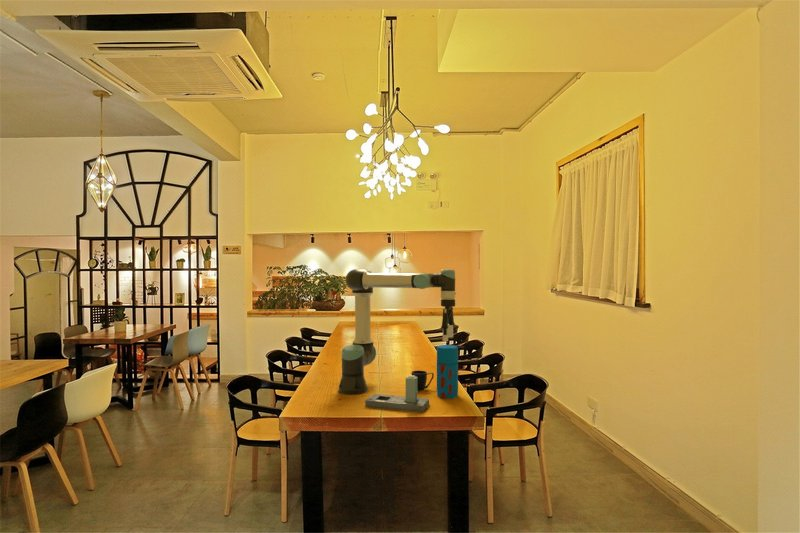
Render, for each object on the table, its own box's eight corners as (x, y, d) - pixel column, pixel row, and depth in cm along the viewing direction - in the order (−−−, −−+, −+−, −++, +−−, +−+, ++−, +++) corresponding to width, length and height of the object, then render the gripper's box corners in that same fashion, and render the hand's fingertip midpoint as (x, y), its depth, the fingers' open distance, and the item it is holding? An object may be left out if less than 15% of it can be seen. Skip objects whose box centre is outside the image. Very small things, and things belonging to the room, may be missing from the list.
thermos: (444, 391, 239) (444, 344, 239) (462, 395, 232) (461, 346, 232) (432, 396, 230) (432, 347, 230) (450, 400, 223) (450, 349, 223)
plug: (405, 408, 210) (405, 376, 210) (408, 405, 215) (408, 374, 215) (414, 409, 209) (414, 377, 209) (417, 406, 213) (417, 375, 213)
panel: (365, 406, 213) (365, 399, 213) (374, 399, 224) (374, 393, 224) (422, 412, 204) (422, 405, 204) (429, 404, 215) (429, 398, 215)
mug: (435, 391, 239) (435, 373, 239) (412, 392, 238) (412, 374, 238) (432, 387, 247) (432, 370, 247) (410, 388, 246) (410, 370, 246)
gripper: (450, 300, 225) (450, 343, 225) (459, 297, 249) (459, 336, 249) (435, 300, 227) (435, 342, 227) (445, 297, 251) (445, 335, 251)
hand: (448, 339), depth 238 cm, fingers open, 13 cm apart
